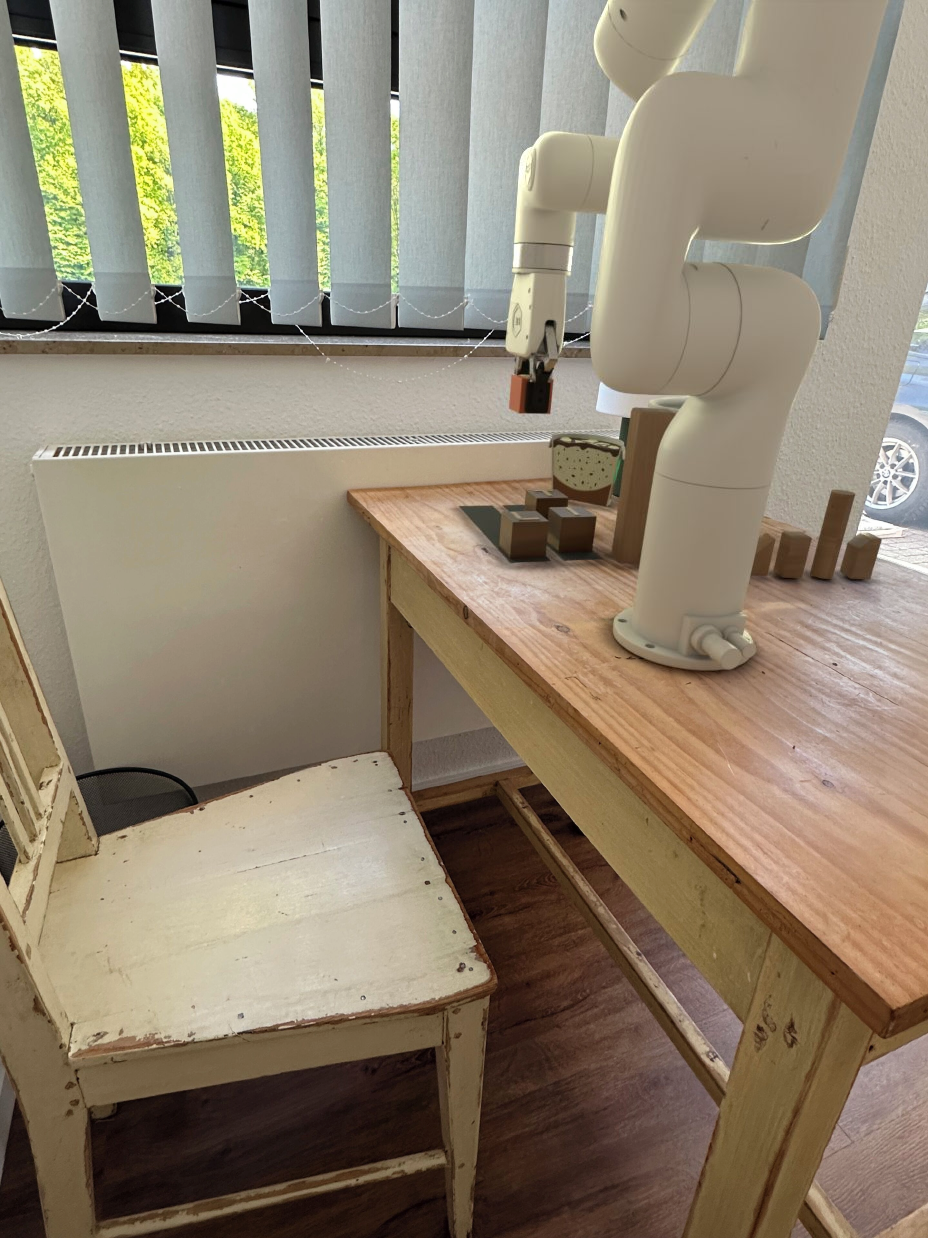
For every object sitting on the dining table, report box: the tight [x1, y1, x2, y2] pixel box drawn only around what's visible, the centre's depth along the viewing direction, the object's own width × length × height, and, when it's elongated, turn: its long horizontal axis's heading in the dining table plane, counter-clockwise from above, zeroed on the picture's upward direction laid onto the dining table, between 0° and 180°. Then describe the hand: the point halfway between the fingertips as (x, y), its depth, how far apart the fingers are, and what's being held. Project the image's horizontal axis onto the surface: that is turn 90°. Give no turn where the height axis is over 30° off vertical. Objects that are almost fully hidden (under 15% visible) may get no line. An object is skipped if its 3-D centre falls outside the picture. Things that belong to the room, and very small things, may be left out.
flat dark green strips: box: [458, 504, 604, 564], centre depth 96 cm, size 25×12×1 cm, turn 14°
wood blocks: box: [750, 489, 883, 580], centre depth 83 cm, size 25×3×10 cm, turn 95°
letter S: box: [508, 374, 555, 415], centre depth 98 cm, size 4×4×5 cm
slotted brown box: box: [547, 506, 598, 553], centre depth 89 cm, size 4×4×5 cm
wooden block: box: [611, 406, 676, 565], centre depth 84 cm, size 9×4×18 cm, turn 90°
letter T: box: [524, 488, 569, 520], centre depth 97 cm, size 4×4×5 cm
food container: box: [547, 432, 626, 508], centre depth 112 cm, size 12×6×10 cm, turn 58°
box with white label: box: [499, 511, 549, 559], centre depth 86 cm, size 4×4×5 cm
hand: (529, 408), depth 99 cm, fingers closed on letter S, 4 cm apart
